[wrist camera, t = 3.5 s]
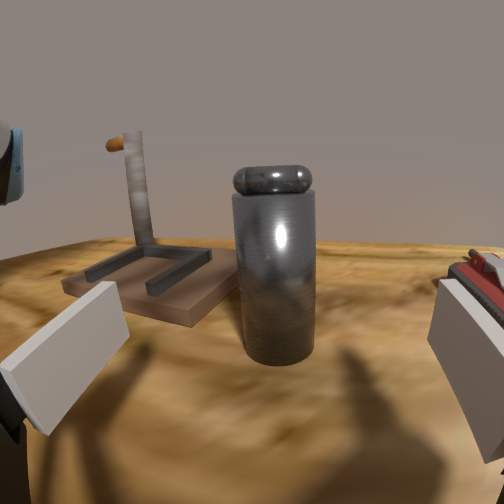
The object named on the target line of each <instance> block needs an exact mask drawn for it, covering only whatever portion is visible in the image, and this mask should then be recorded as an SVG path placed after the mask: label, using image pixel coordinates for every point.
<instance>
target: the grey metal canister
mask: <svg viewBox="0 0 504 504" xmlns="http://www.w3.org/2000/svg"><path fill="white" fill-rule="evenodd" d="M311 184H312V175H311V173H310V171H309V170H308V169H307V168H306V167H304V166H302V165H281V166H261V167H260V166H259V167H245V168H241V169H240V170H238V171H237V172H236V173H235V175H234V177H233V185H234V188H235V190H236V191H237V192H238V193H235V194H233V195H232V207H233V218H234V219H233V220H234V231H235V243H236V255H237V266H238V277H239V288H240V299H241V310H242V320H243V331H244V341H245V350H246V353H247V354H248V356H249V357H250V358H251V359H253V360H254V361H256V362H258V363H261V364H264V365H269V366H287V365H292V364H296V363H298V362H300V361H302V360H304V359H306V358H307V357H308V356H309V355H310V354H311V353H312V351H313V348H314V331H315V291H316V232H315V230H316V229H315V228H316V227H315V191H313V190H310V189H309V188H310V187H311Z"/></svg>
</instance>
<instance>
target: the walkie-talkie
mask: <svg viewBox="0 0 504 504" xmlns="http://www.w3.org/2000/svg"><path fill="white" fill-rule="evenodd" d="M468 254H469V256H470V257H471V262H459V263H454V264H452V265H450V266H449V269H448V276H447V279H456V280H457V281H458V282H459V283H460V284H461V285H462V286H463V287H464V288H465V289H466V290H467V291H468V292H469V293H470V294H471V295H472V296H473V297H474V298H475V299H476V300H477V301H478V302H479V303H480V304H481V305H482V307H483V308H484V309H485V310H486V311H487V312H488V313H489V314H490V315H491V316H492V317H493V318H494V320H495V321H496V322H497V323H498V324H499V325H500V326H501V327H502V329H503V330H504V260H503V259H500V257H498V256H497V255H495V254H493V253H482V254H480V253H478V252H477V251H475V250H474V249H471V250H469V253H468Z"/></svg>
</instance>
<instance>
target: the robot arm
mask: <svg viewBox="0 0 504 504" xmlns="http://www.w3.org/2000/svg"><path fill="white" fill-rule="evenodd" d="M23 192H24V171H23V135H22V130H20V129H15V128H14V129H12V130H11V131H10V127H9V124H8V122H7V121H6V120H5V119H4V118H3V117H1V116H0V206H1V205H4V206H5V205H7V203H10V202H13V201H16V200H19V199H20V198H21V197H22V195H23ZM129 337H130V334H129V331H128V327H127V324H126V320H125V316H124V313H123V309H122V305H121V301H120V297H119V293H118V289H117V285H116V282H112V281H102V282H100V283H99V284H98V285H96V286H95V287H94V288H92V289H91V290H90V291H88V292H87V293H86V294H85V295H83V296H82V297H81V298H79V299H78V300H77V301H75V302H74V303H73V304H72V305H70V306H69V307H68V308H66V309H65V310H64V311H63V312H61V313H60V314H59V315H58V316H56V317H55V318H54V319H53V320H51V321H50V322H49V323H48V324H46V325H45V326H44V327H43V328H41V329H40V330H39V331H38V332H37V333H35V334H34V335H33V336H32V337H31V338H29V339H28V340H27V341H26V342H25V343H23V344H22V345H21V346H20V347H19V348H18V349H16V350H15V351H14V352H13V353H12V354H11V355H9V356H8V357H7V358H6V359H5V360H4V361H2V362H1V363H0V504H31V498H30V489H29V479H28V464H27V430H26V426H25V424H24V423H23V420H24V419H25V418H26V417H27V418H28V420H29V421H30V423H31V424H32V426H33V427H34V429H36V430H38V431H40V432H42V433H44V434H46V435H48V436H49V435H50V434H51V432H52V431H53V430H54V428H55V427H56V426H57V425H58V423H59V422H60V421H61V419H62V418H63V417H64V416H65V414H66V413H67V412H68V411H69V409H70V408H71V407H72V406H73V404H74V403H75V402H76V401H77V399H78V398H79V397H80V396H81V394H82V393H83V392H84V391H85V390H86V388H87V387H88V386H89V385H90V383H91V382H92V381H93V380H94V378H95V377H96V376H97V375H98V374H99V372H100V371H101V370H102V369H103V368H104V366H105V365H106V364H107V363H108V362H109V360H110V359H111V358H112V357H113V356H114V354H115V353H116V352H117V351H118V350H119V348H120V347H121V346H122V345H123V344H124V343H125V341H126V340H127V339H128V338H129ZM427 340H428V342H429V344H430V346H431V348H432V350H433V351H434V353H435V355H436V357H437V359H438V361H439V363H440V365H441V367H442V369H443V371H444V373H445V374H446V376H447V378H448V380H449V383H450V385H451V387H452V389H453V391H454V393H455V395H456V397H457V399H458V401H459V403H460V406H461V408H462V410H463V412H464V414H465V417H466V419H467V421H468V424H469V426H470V428H471V431H472V433H473V435H474V438H475V440H476V443H477V445H478V448H479V450H480V453H481V455H482V458H483V461H484V463H485V464H487V463H489V462H492V461H495V460H498V459H500V458H503V457H504V330H503V329H502V327H501V326H500V325H499V324H498V323H497V322H496V321H495V320H494V318H493V317H492V316H491V315H490V314H489V313H488V312H487V311H486V310H485V309H484V308H483V307H482V305H481V304H480V303H479V302H478V301H477V300H476V299H475V298H474V297H473V296H472V295H471V294H470V293H469V292H468V291H467V290H466V289H465V288H464V287H463V286H462V285H461V284H460V283H459V282H458V281H457V280H456V279H440V280H439V284H438V290H437V296H436V301H435V306H434V311H433V316H432V321H431V325H430V330H429V334H428V338H427ZM501 474H502V475H504V469H503V471H502V472H501ZM496 504H504V485H503V488H502V490H501V493H500V496H499V498H498V500H497V503H496Z"/></svg>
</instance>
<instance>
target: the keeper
mask: <svg viewBox="0 0 504 504" xmlns="http://www.w3.org/2000/svg"><path fill="white" fill-rule="evenodd" d="M106 149H107V151H109V152H115V151H120V150H124V155H125V166H126V175H127V184H128V193H129V200H130V208H131V214H132V221H133V228H134V234H135V240H136V245H135V246H133V247H131V248H129V249H127V250H124V251H122V252H120V253H118V254H116V255H113V256H111V257H109V258H107V259H105V260H103V261H100V262H98V263H96V264H94V265H92V266H90V267H88V268H86V269H83V270H81V271H79V272H77V273H75V274H73V275H71V276H69V277H67V278H65V279H63V280H61V283H62V286H63V290H64V293H67V294H70V295H73V296H76V297H79V298H81V297H82V296H83V295H85V294H86V293H87V292H88V291H90V290H91V289H92V288H94V287H95V286H96V285H98V284H99V283H100V282H102V281H112V282H116V285H117V289H118V293H119V297H120V301H121V305H122V309H123V311H127V312H131V313H135V314H138V315H142V316H146V317H150V318H154V319H158V320H162V321H166V322H170V323H174V324H178V325H183V326H187V327H191V328H192V327H193V326H194V325H195V324H196V323H197V322H198V321H199V320H201V319H202V318H203V317H204V316H205V315H206V314H207V313H208V312H209V311H210V310H212V309H213V308H214V307H215V306H216V305H217V304H218V303H219V302H220V301H221V300H222V299H224V298H225V297H226V296H227V295H228V294H229V293H230V292H231V291H232V290H233V289H234V288H236V287H237V286H238V285H239V277H238V266H237V255H236V250H229V249H214V248H200V247H185V246H170V245H156V244H154V238H153V231H152V225H151V217H150V209H149V202H148V194H147V185H146V176H145V166H144V156H143V143H142V132H141V131H134V132H128V133H124V134H123V136H121V137H117V138H113V139H110V140H108V142H107V143H106Z"/></svg>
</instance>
